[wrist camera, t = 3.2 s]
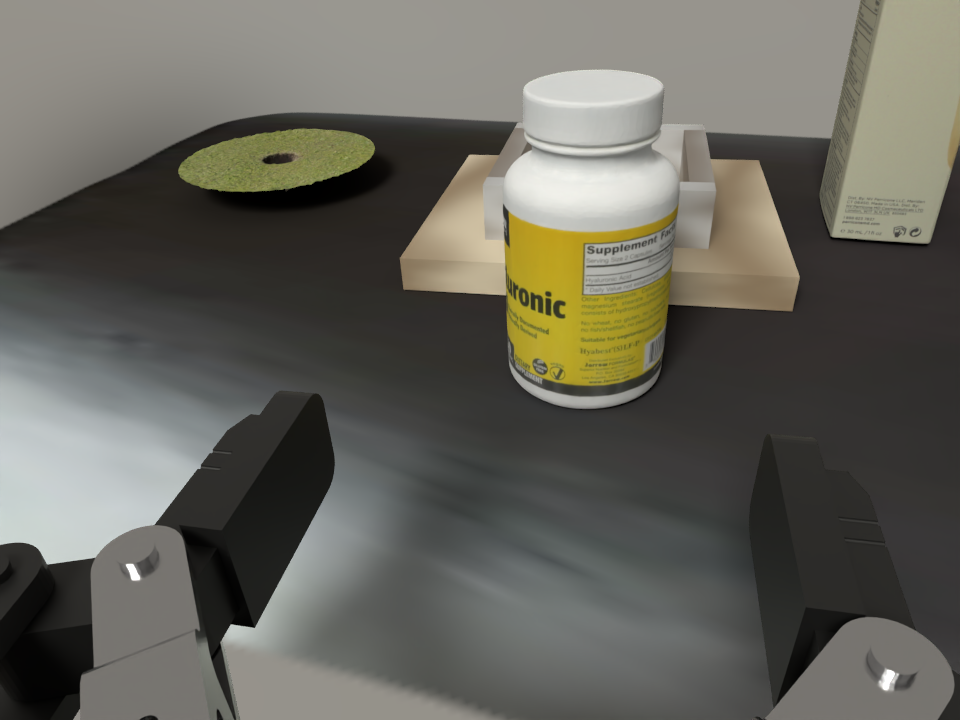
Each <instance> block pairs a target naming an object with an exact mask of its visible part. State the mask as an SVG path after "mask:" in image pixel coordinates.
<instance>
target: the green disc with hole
mask: <svg viewBox="0 0 960 720" xmlns="http://www.w3.org/2000/svg"><path fill="white" fill-rule="evenodd" d="M374 150H375V146H374V144H373V143H372V142H371V140H368V138H366V137H363V136H361V135H358V134H354V133H349V132H342V131H335V130H324V129H323V130H322V129H320V130H319V129H294V130H287V131H282V132H280V131H276V132H273V133H262V134H256V135H253V136H247V137H243V138H238V139H237V138H235V139H233V140H229V141H223V142H221V143H219V144H217V145H212V146H210V147H208V148H205V149H202V150H200V151H197V152H196V153H195V154H193V155H192V157H191V156H190V157H188V158H187V159H186V160H185V161H184V162H182V163H181V166H180V168H179V174H180V177H181V178H182V179H184V180H185V181H186V182H189V183H191V184H193V185H197V186H200V187H201V188H206V189H217V190H219V191H222V190H223V191H231V192H233V191H241V192H246V191H252V192H255V191H271V190H282V189H284V188H285V191H288V190H289V189H290V188H295V187H297V186H303V185H307V184H308V185H312V183H313V182H315V181H322V180H325V179H327V178H331V177H333V176H339V175H340V174H343V173H345V172H349V171H352V170H353V169H357V168H358V167H360V166H361V165H362V164H363V163H366V161H367V160H369V159H370V158H371V157H372V155H373V154H374Z"/></svg>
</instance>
